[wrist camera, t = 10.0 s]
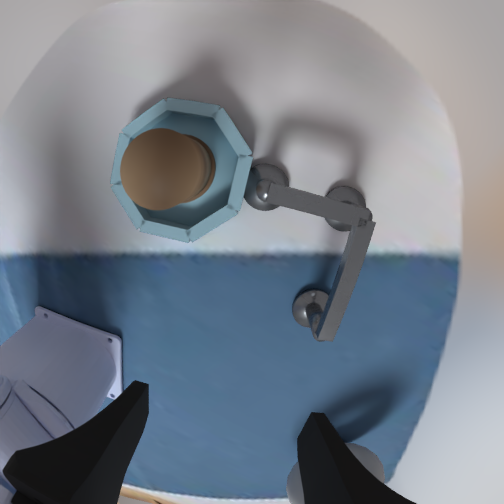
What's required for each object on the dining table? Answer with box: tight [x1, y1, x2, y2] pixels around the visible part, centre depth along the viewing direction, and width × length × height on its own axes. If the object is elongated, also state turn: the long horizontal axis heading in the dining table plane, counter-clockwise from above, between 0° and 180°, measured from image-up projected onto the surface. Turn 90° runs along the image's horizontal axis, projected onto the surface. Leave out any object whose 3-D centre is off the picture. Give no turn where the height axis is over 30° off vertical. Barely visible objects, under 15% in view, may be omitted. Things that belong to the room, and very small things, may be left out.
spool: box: [120, 128, 216, 210], centre depth 15 cm, size 4×4×5 cm
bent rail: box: [244, 164, 376, 342], centre depth 18 cm, size 8×10×4 cm
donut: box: [286, 443, 385, 504], centre depth 21 cm, size 10×4×10 cm, turn 103°
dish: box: [110, 98, 253, 243], centre depth 18 cm, size 9×9×2 cm
